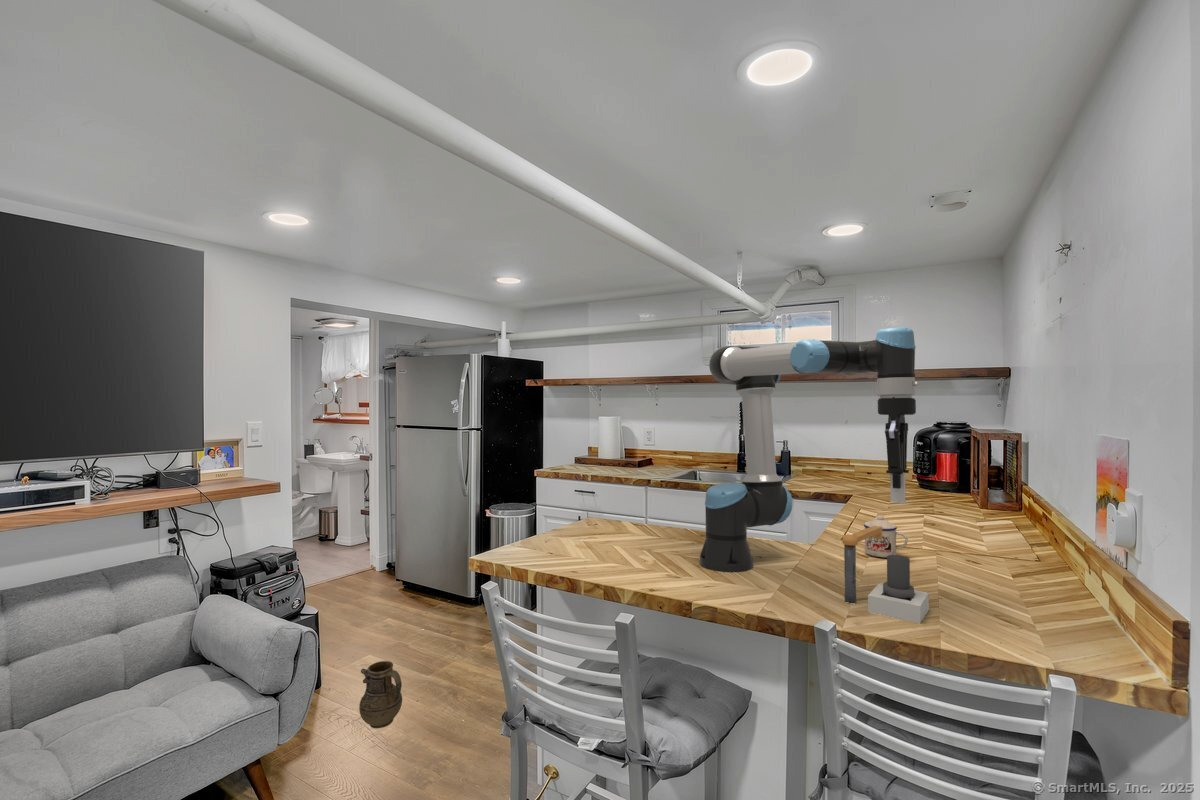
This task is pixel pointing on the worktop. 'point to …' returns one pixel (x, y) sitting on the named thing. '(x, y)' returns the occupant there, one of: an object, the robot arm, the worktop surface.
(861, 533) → the clip
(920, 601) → the socket block
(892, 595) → the plug
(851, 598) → the clip post
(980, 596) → the worktop surface
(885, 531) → the teacup with lid
